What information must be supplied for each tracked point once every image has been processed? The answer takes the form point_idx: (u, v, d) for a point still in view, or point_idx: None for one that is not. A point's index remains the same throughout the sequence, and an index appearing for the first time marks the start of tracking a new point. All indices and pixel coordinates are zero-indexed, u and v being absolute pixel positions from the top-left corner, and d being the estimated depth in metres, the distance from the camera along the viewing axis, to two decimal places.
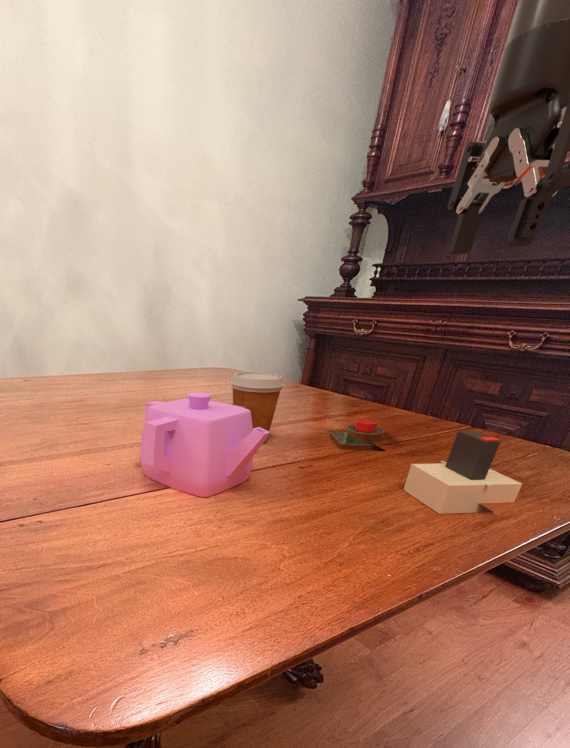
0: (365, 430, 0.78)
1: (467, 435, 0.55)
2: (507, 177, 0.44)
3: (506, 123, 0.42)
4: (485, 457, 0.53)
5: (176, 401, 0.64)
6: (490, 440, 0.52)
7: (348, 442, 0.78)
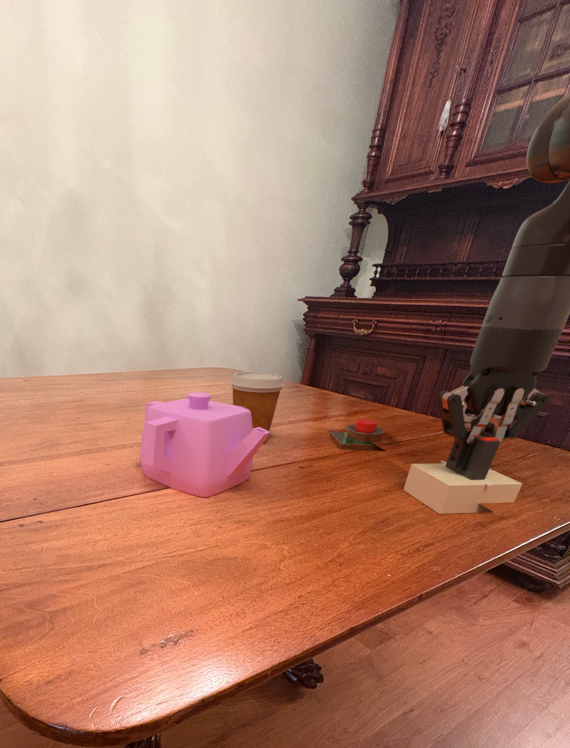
0: (365, 430, 0.78)
1: None
2: None
3: None
4: (485, 457, 0.53)
5: (176, 401, 0.64)
6: (490, 440, 0.52)
7: (348, 442, 0.78)
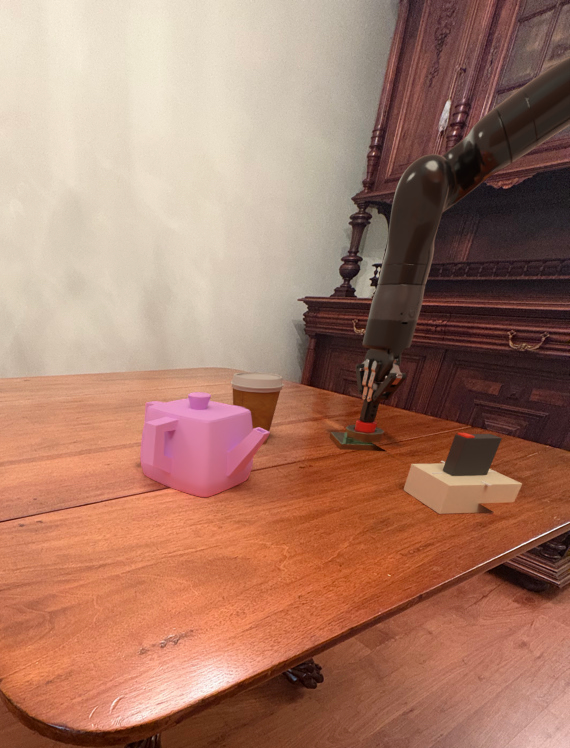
0: (365, 430, 0.78)
1: (477, 434, 0.56)
2: None
3: None
4: (453, 451, 0.55)
5: (176, 401, 0.64)
6: (460, 434, 0.55)
7: (348, 442, 0.78)
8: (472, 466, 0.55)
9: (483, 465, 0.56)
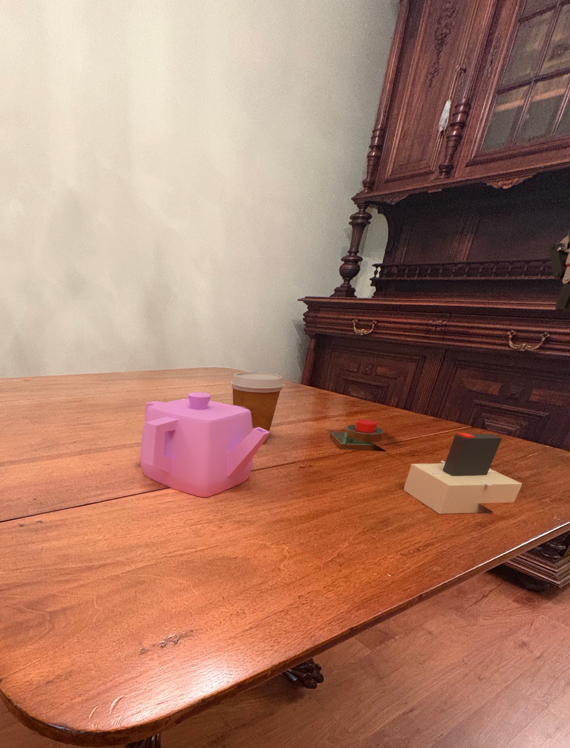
0: (365, 430, 0.78)
1: (477, 434, 0.56)
2: None
3: None
4: (453, 451, 0.55)
5: (176, 401, 0.64)
6: (460, 434, 0.55)
7: (348, 442, 0.78)
8: (472, 466, 0.55)
9: (483, 465, 0.56)
